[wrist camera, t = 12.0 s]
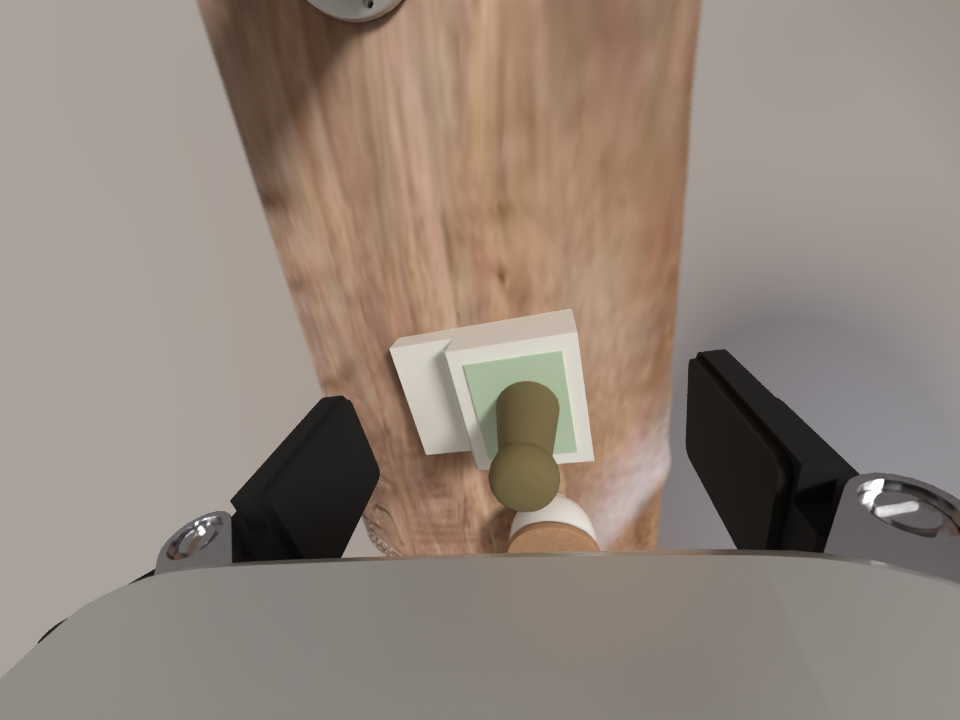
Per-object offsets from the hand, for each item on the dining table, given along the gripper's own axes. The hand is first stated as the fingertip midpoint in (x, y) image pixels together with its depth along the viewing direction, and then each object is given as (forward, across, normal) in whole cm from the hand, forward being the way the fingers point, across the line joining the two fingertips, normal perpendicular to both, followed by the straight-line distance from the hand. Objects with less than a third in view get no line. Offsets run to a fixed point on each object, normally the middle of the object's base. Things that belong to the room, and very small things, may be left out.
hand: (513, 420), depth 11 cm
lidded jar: (+28, +2, +35) cm, 45 cm away
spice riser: (+29, +5, +15) cm, 33 cm away
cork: (+22, +2, +14) cm, 26 cm away
